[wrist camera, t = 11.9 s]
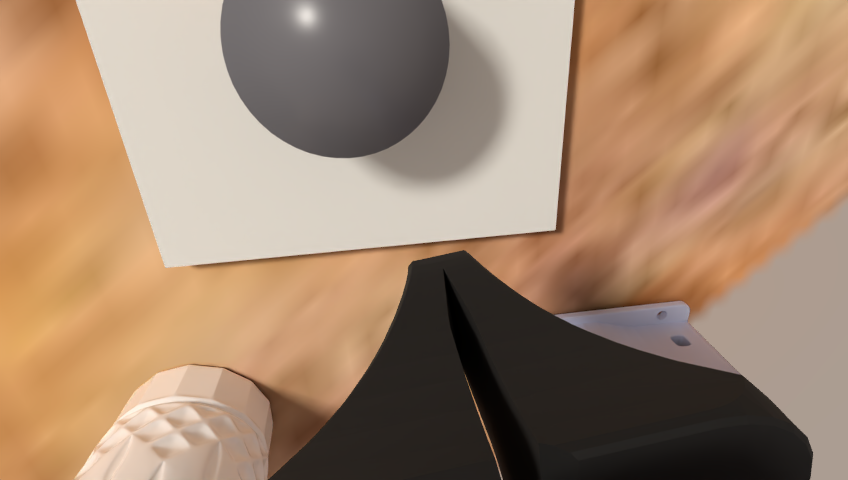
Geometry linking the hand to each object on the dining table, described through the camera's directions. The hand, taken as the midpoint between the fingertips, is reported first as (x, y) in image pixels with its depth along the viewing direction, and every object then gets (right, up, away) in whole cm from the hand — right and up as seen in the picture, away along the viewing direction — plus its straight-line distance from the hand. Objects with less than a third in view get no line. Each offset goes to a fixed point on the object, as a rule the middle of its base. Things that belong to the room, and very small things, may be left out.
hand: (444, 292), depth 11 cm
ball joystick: (-4, +9, +3) cm, 10 cm away
